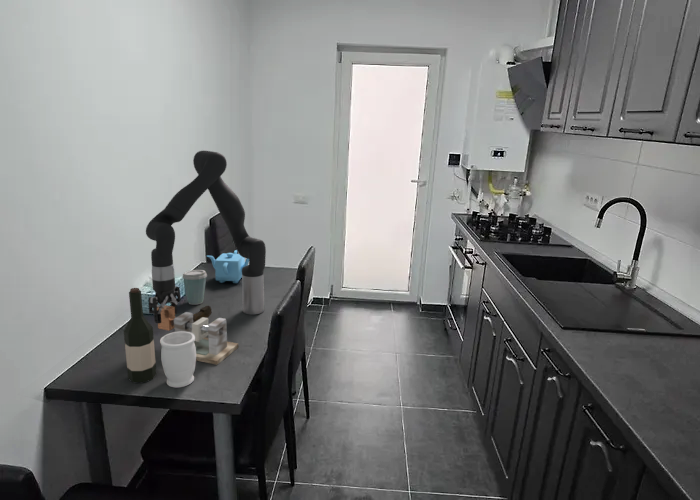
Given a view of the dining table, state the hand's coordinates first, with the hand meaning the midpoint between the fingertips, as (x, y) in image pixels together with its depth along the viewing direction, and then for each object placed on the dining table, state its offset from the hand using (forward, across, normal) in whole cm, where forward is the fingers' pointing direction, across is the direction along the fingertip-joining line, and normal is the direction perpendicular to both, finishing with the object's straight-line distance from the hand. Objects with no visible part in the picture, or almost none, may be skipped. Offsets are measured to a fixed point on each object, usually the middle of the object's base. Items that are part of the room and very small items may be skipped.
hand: (166, 318), depth 168 cm
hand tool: (+11, +21, +3) cm, 24 cm away
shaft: (+4, 0, -9) cm, 10 cm away
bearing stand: (+10, 0, -14) cm, 18 cm away
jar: (+10, -20, -20) cm, 30 cm away
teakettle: (+10, +74, +18) cm, 77 cm away
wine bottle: (+10, -22, -8) cm, 25 cm away
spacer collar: (+5, 0, -14) cm, 15 cm away
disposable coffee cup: (+10, +39, +16) cm, 43 cm away
